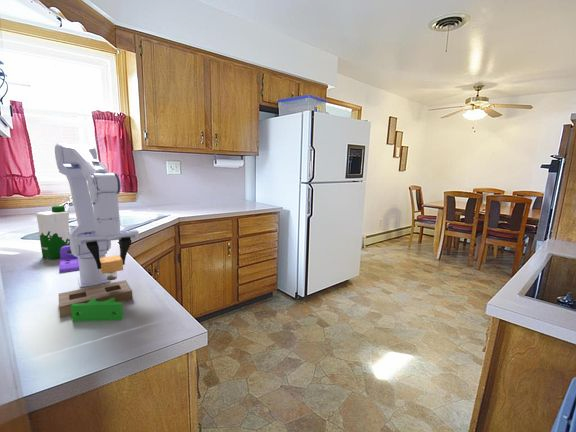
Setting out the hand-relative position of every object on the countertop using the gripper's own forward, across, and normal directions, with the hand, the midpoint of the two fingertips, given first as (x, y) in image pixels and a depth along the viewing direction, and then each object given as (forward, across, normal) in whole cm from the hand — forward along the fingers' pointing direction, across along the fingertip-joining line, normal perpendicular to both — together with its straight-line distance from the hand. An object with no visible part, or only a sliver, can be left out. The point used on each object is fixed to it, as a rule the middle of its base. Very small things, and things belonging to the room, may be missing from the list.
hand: (111, 265), depth 79 cm
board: (+10, -4, 0) cm, 10 cm away
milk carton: (+10, -12, +55) cm, 57 cm away
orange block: (+4, 0, 0) cm, 4 cm away
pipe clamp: (+10, -4, -10) cm, 15 cm away
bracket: (+10, -8, +38) cm, 40 cm away
